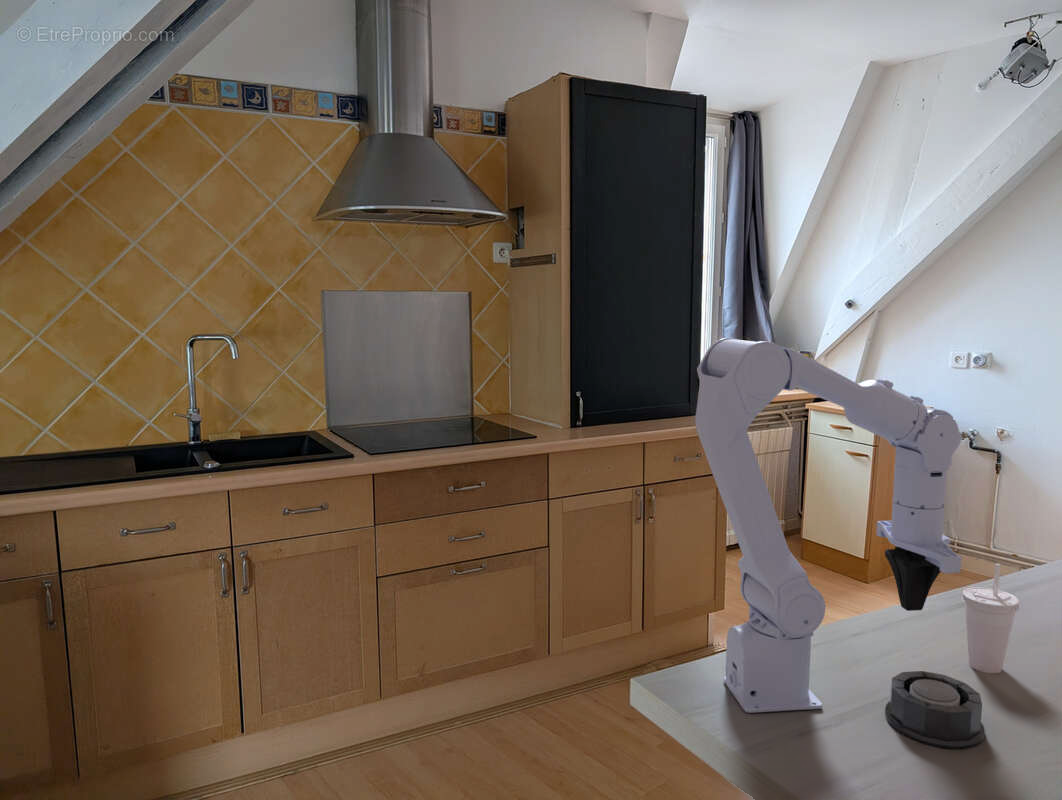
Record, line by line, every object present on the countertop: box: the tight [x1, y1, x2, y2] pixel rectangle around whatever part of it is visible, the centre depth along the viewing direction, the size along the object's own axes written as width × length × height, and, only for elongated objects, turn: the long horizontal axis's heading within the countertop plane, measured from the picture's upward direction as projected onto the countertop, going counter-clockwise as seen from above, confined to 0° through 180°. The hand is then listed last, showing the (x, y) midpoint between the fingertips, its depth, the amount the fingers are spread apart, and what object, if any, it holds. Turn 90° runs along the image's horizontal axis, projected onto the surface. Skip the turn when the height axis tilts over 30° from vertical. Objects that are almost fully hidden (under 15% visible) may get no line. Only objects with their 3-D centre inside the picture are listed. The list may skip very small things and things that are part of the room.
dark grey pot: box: [884, 670, 986, 750], centre depth 86 cm, size 10×10×4 cm
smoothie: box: [961, 563, 1020, 674], centre depth 99 cm, size 6×6×14 cm
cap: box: [910, 679, 960, 706], centre depth 86 cm, size 5×5×4 cm
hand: (911, 608), depth 95 cm, fingers closed
